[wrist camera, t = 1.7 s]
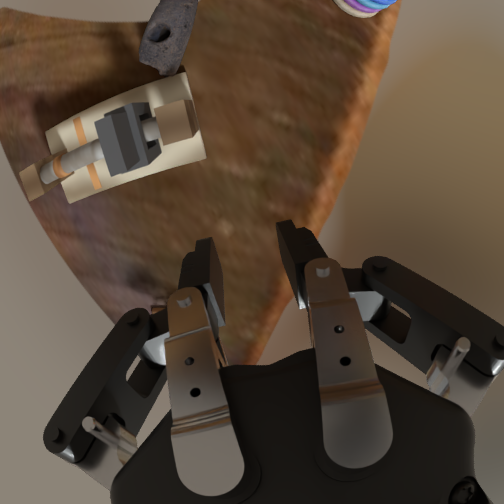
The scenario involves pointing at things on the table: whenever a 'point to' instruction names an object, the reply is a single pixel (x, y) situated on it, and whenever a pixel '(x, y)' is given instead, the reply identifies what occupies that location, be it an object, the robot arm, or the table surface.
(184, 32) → the perforated stone tool
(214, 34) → the table surface
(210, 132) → the table surface
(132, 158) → the collar
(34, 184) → the pipe stand
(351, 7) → the stacking toy
